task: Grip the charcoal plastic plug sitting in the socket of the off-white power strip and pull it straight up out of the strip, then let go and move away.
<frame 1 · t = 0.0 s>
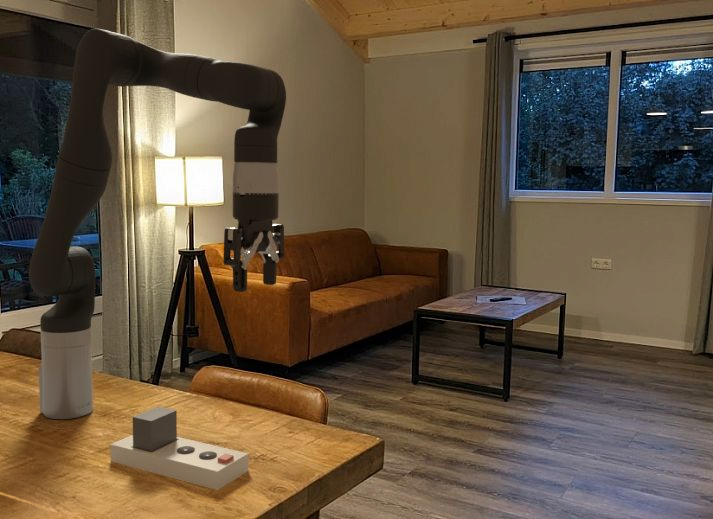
hand: (255, 287, 116), 29 cm above the table, tool pointing down, fingers open, 8 cm apart
power strip: (178, 466, 114), on the table
charcoal plug: (155, 436, 116), point 4 cm above the table, slide at 0.0 cm
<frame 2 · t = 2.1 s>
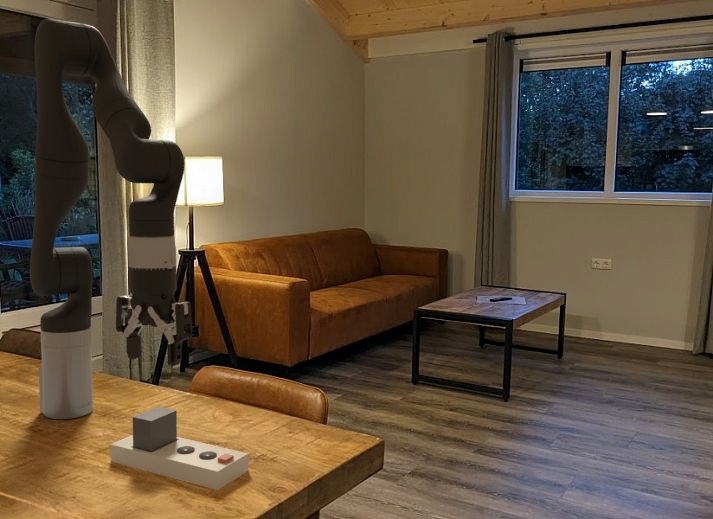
hand: (154, 361, 114), 17 cm above the table, tool pointing down, fingers open, 8 cm apart
nothing on the table moved.
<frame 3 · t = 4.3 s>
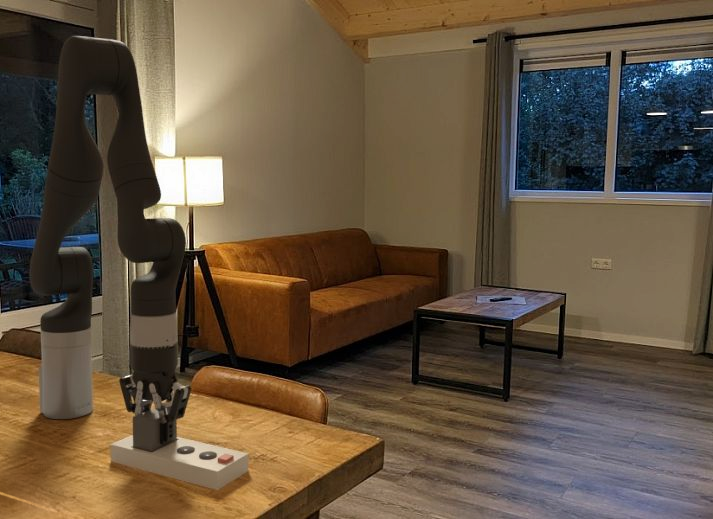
hand: (155, 440, 116), 4 cm above the table, tool pointing down, fingers closed on charcoal plug, 4 cm apart
charcoal plug: (155, 436, 116), point 4 cm above the table, slide at 0.0 cm, touching gripper
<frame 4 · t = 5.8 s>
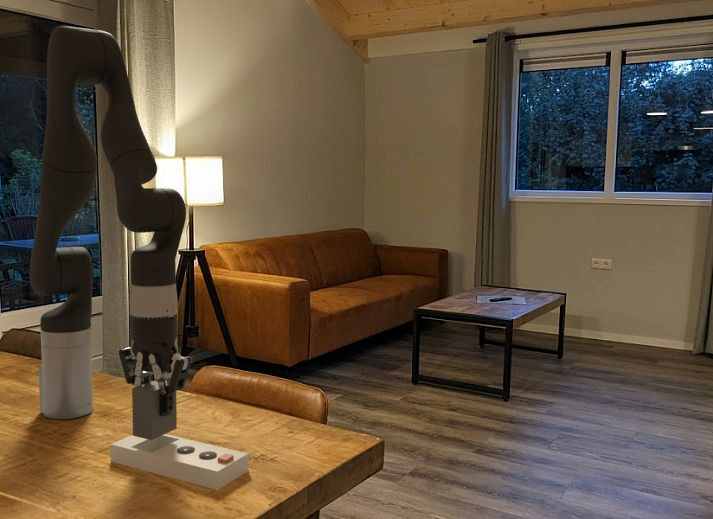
hand: (155, 411, 115), 8 cm above the table, tool pointing down, fingers closed on charcoal plug, 4 cm apart
charcoal plug: (154, 408, 115), point 9 cm above the table, slide at 4.8 cm, touching gripper
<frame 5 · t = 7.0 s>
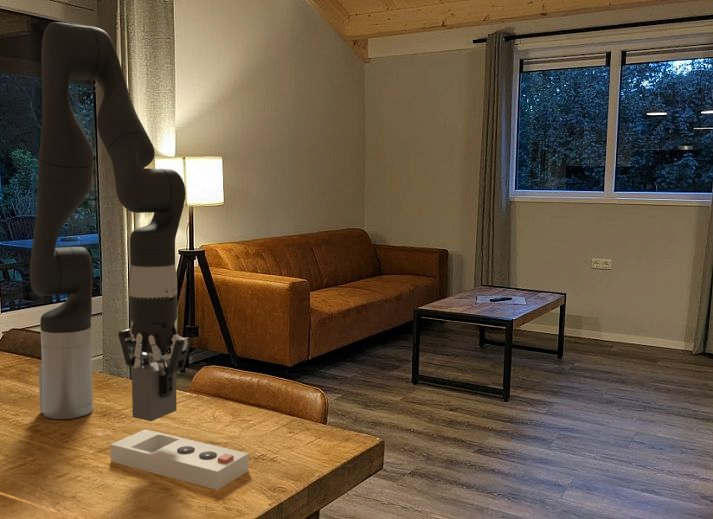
hand: (154, 393, 115), 12 cm above the table, tool pointing down, fingers closed on charcoal plug, 4 cm apart
charcoal plug: (154, 390, 115), point 12 cm above the table, slide at 8.0 cm, touching gripper
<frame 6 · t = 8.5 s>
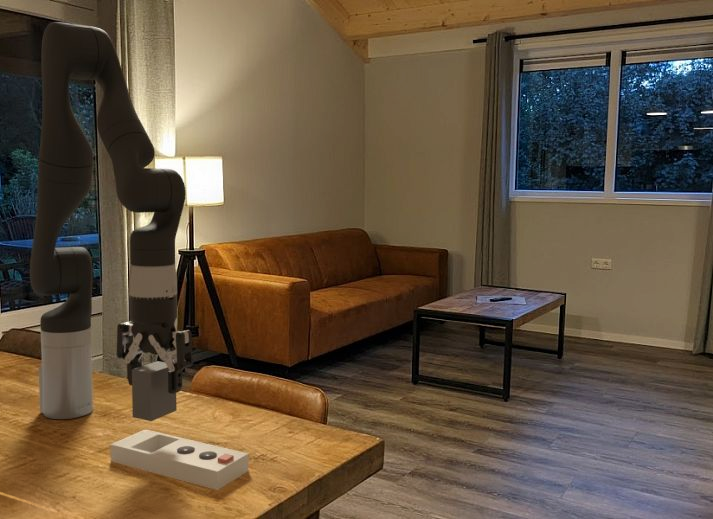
hand: (154, 388, 115), 12 cm above the table, tool pointing down, fingers open, 8 cm apart
charcoal plug: (154, 390, 115), point 12 cm above the table, slide at 8.0 cm
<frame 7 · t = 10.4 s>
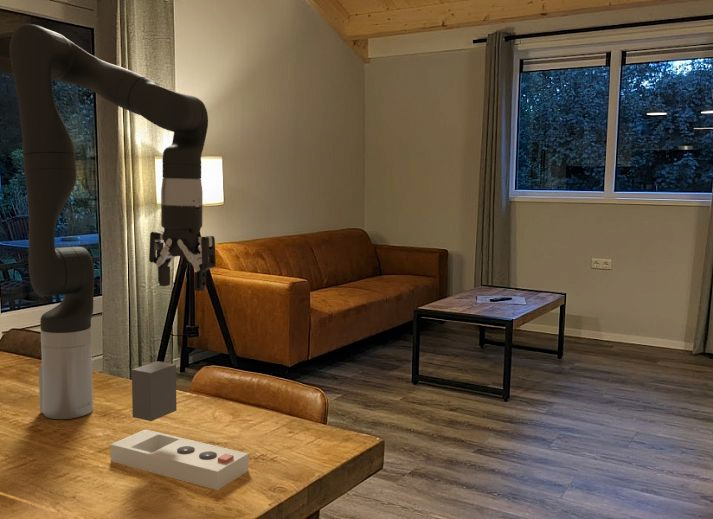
hand: (181, 288, 132), 26 cm above the table, tool pointing down, fingers open, 8 cm apart
nothing on the table moved.
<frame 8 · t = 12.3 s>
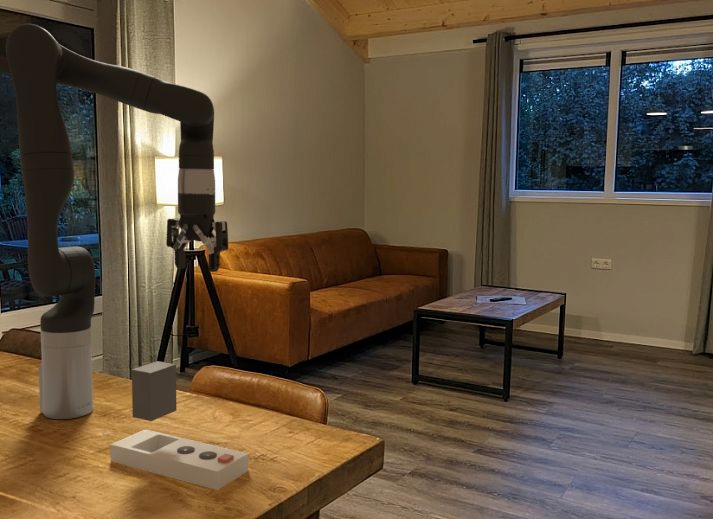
hand: (197, 269, 144), 28 cm above the table, tool pointing down, fingers open, 8 cm apart
nothing on the table moved.
at the end: charcoal plug slide at 8.0 cm; the gripper is holding nothing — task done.
